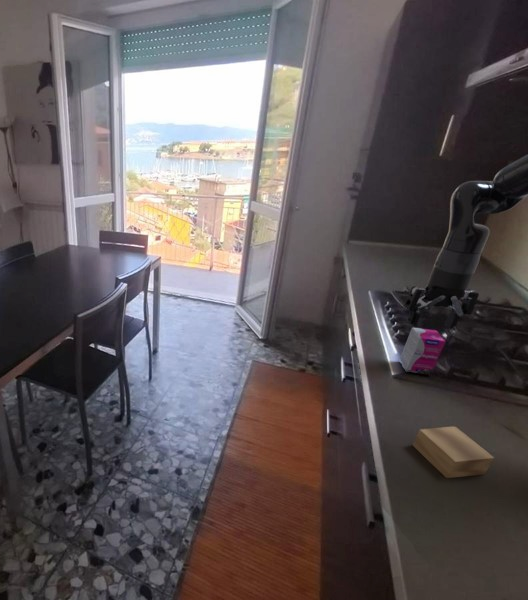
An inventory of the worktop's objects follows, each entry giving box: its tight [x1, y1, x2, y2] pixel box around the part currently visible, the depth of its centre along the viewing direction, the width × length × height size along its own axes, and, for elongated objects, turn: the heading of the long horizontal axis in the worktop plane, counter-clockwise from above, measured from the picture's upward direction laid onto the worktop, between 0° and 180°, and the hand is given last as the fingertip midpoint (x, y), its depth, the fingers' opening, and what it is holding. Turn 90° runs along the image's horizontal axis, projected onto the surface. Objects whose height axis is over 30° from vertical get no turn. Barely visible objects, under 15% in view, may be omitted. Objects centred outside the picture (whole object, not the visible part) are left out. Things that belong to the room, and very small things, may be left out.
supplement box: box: [399, 327, 446, 371], centre depth 96 cm, size 6×6×12 cm
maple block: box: [412, 425, 495, 479], centre depth 70 cm, size 8×8×4 cm
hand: (430, 325), depth 93 cm, fingers open, 8 cm apart
